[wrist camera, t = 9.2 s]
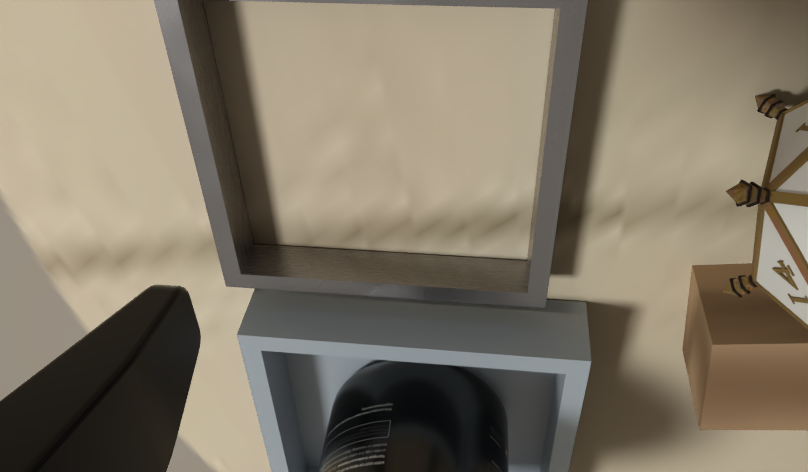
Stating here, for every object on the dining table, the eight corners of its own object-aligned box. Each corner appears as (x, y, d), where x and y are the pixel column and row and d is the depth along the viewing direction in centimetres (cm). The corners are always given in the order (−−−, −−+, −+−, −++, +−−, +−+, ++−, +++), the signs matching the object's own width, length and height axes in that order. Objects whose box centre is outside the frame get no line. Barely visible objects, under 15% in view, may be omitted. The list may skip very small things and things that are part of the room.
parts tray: (551, 485, 32) (553, 542, 30) (296, 461, 34) (282, 515, 32) (586, 302, 25) (591, 361, 23) (258, 280, 26) (236, 334, 24)
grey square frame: (544, 275, 24) (545, 308, 23) (239, 256, 26) (226, 286, 24) (586, -41, 18) (590, -17, 17) (170, -49, 19) (147, -26, 18)
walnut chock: (869, 343, 25) (910, 430, 22) (681, 346, 26) (699, 429, 23) (899, 254, 22) (950, 341, 20) (691, 262, 24) (712, 344, 21)
